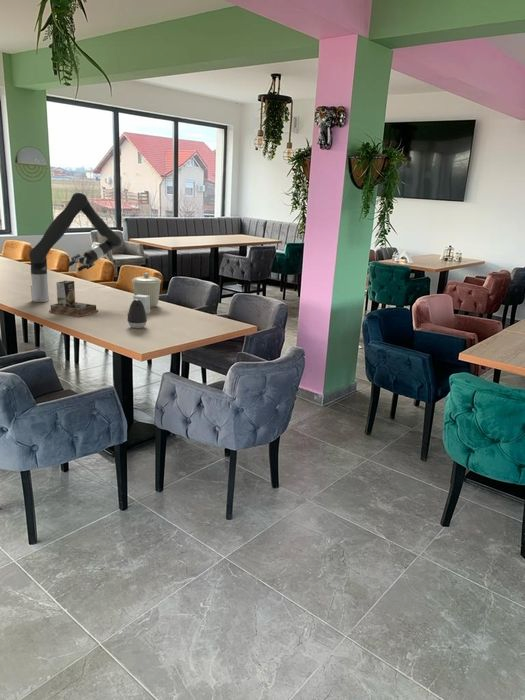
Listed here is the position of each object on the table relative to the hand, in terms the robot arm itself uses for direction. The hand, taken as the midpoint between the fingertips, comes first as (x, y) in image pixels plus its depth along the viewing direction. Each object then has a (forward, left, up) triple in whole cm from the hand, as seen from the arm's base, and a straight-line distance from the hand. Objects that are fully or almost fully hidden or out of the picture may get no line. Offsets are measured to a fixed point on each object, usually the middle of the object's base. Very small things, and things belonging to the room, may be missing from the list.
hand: (73, 267), depth 319 cm
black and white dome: (+61, -23, -24) cm, 69 cm away
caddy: (+10, -13, -23) cm, 28 cm away
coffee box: (+5, -13, -23) cm, 26 cm away
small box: (+44, +6, -24) cm, 50 cm away
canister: (+36, +23, -24) cm, 49 cm away
